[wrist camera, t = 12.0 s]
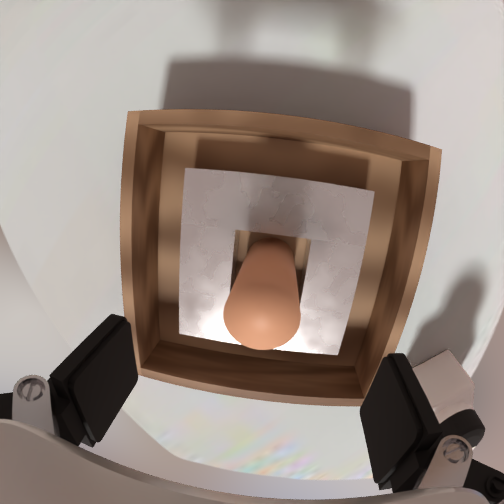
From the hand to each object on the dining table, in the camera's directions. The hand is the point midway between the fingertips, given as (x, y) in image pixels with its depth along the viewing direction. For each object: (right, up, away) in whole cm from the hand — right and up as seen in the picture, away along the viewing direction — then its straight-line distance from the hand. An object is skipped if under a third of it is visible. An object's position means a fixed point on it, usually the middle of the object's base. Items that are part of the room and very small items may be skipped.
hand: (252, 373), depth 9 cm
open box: (+2, +4, +16) cm, 16 cm away
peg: (+2, +4, +15) cm, 15 cm away
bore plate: (+2, +4, +16) cm, 16 cm away
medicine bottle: (+21, -11, +18) cm, 30 cm away
